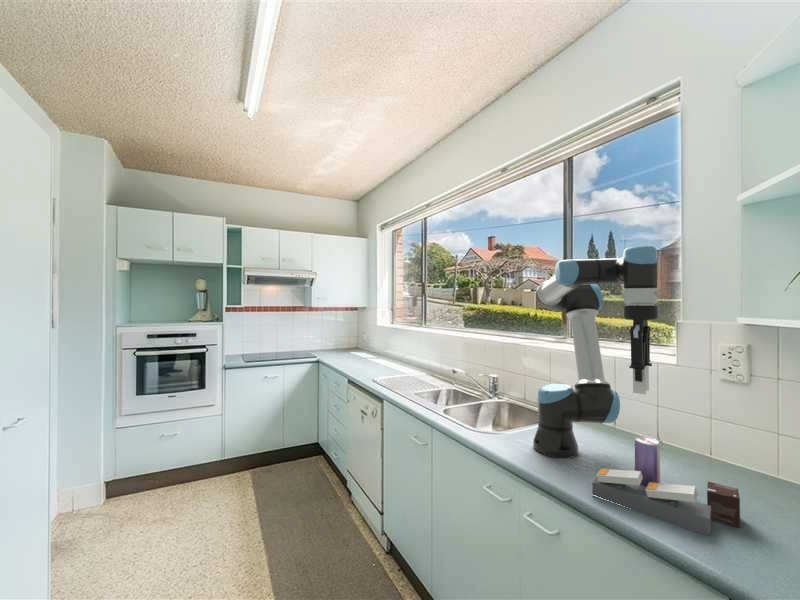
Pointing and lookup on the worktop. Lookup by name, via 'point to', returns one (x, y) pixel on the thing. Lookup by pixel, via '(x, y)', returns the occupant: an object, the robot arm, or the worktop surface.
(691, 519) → the switch panel
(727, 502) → the box
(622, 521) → the worktop surface
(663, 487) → the rocker right
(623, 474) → the block
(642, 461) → the beverage can
